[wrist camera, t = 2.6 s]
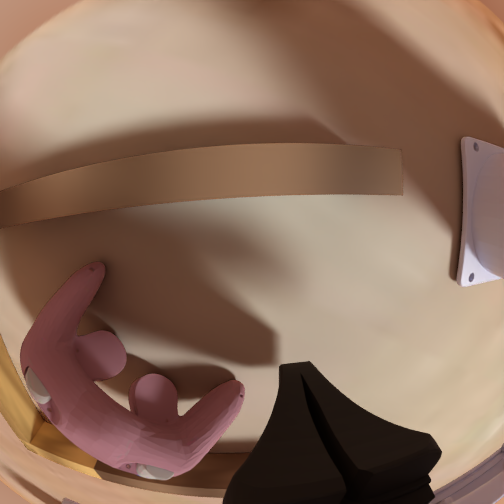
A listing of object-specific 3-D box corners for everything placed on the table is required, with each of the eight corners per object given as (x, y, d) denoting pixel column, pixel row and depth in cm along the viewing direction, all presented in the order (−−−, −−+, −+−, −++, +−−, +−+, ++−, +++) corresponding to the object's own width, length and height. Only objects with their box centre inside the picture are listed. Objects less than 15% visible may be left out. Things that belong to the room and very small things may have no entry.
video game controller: (79, 288, 13) (-1, 374, 7) (96, 243, 10) (-21, 354, 5) (208, 398, 15) (161, 494, 9) (259, 385, 12) (209, 515, 6)
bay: (363, 157, 10) (401, 149, 7) (332, 453, 14) (341, 484, 11) (-36, 213, 10) (-66, 220, 7) (41, 428, 14) (27, 449, 11)
